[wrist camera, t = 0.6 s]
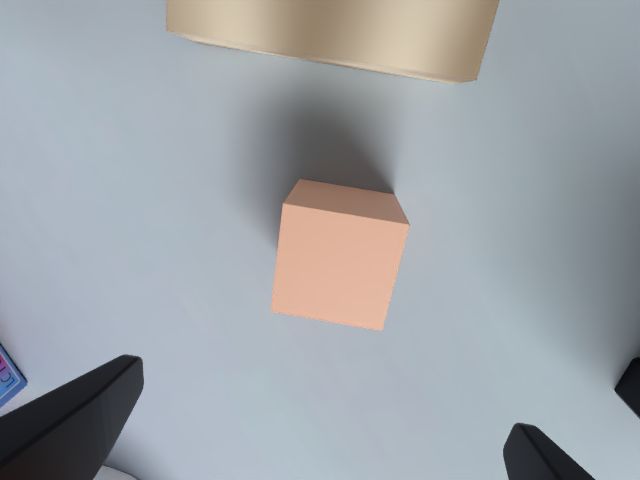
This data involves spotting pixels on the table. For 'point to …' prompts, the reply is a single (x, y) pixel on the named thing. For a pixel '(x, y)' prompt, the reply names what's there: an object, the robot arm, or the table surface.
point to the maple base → (348, 32)
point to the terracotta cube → (338, 254)
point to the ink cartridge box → (9, 379)
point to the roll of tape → (112, 474)
